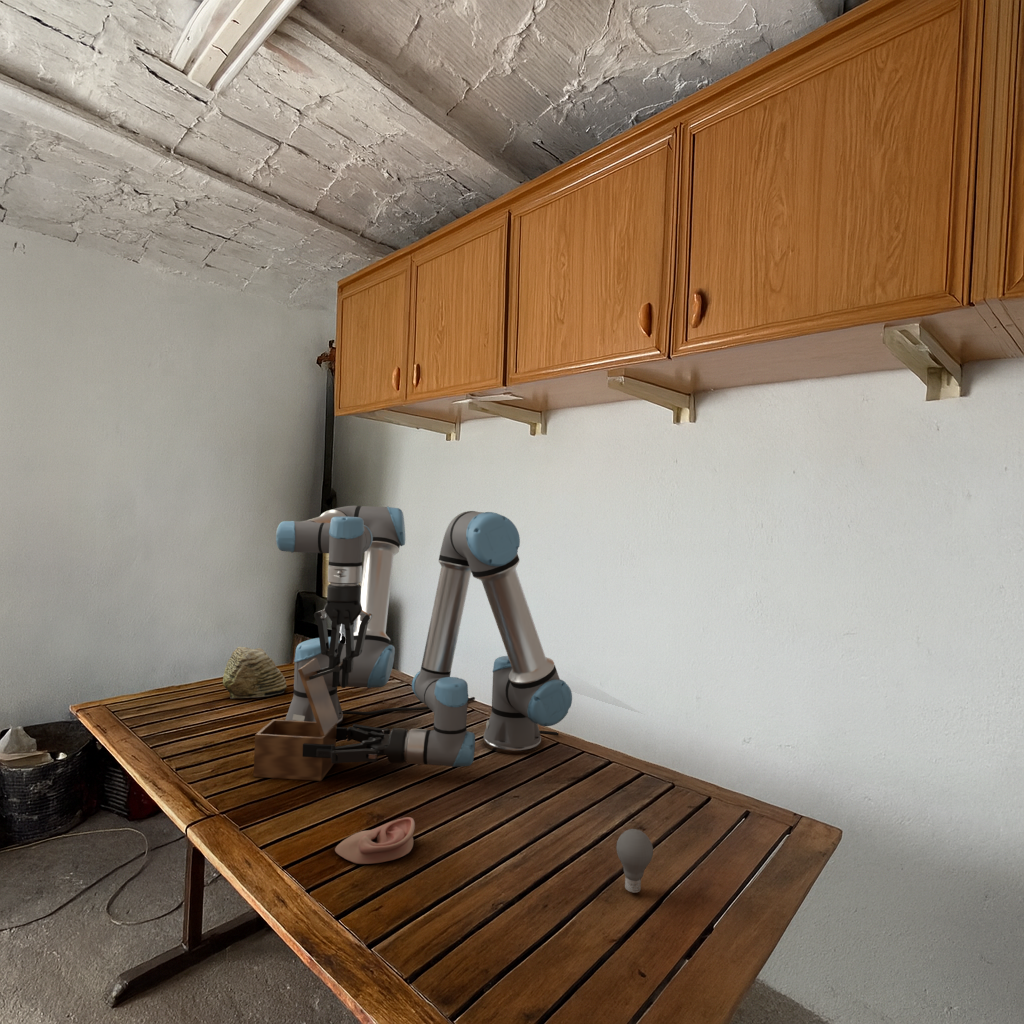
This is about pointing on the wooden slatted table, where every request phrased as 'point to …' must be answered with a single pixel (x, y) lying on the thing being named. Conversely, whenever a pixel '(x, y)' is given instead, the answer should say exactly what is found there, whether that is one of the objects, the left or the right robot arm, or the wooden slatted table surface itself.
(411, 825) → the anatomical model
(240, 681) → the fossil
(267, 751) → the chest
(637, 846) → the light bulb
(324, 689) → the lid
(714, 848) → the wooden slatted table surface
